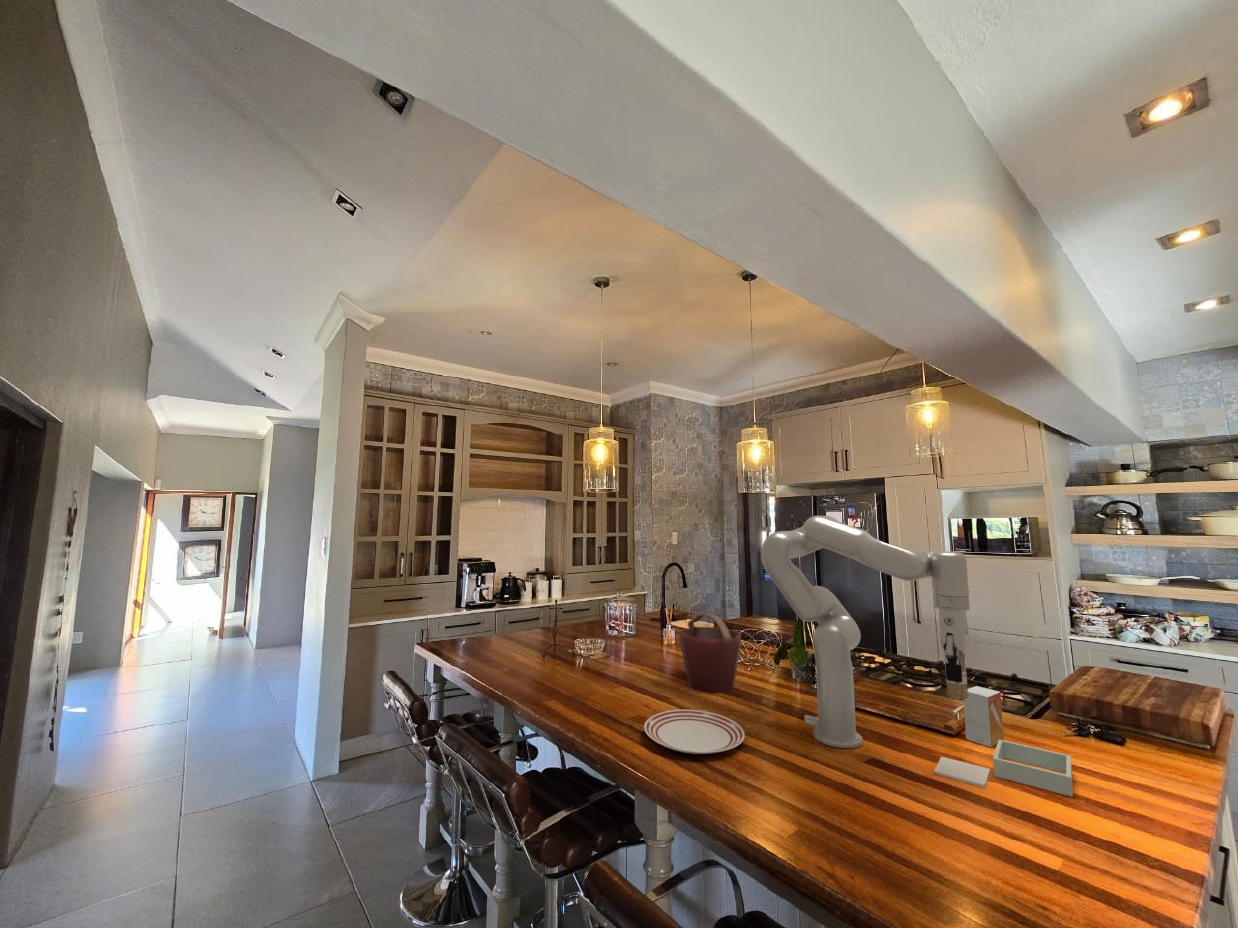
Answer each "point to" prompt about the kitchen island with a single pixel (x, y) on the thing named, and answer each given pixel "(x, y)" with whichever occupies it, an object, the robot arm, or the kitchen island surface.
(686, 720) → the dinner plate
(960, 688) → the sprinkles bottle
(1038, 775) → the tray
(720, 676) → the bucket
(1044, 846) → the kitchen island surface
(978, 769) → the tile
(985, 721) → the small box
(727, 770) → the kitchen island surface
